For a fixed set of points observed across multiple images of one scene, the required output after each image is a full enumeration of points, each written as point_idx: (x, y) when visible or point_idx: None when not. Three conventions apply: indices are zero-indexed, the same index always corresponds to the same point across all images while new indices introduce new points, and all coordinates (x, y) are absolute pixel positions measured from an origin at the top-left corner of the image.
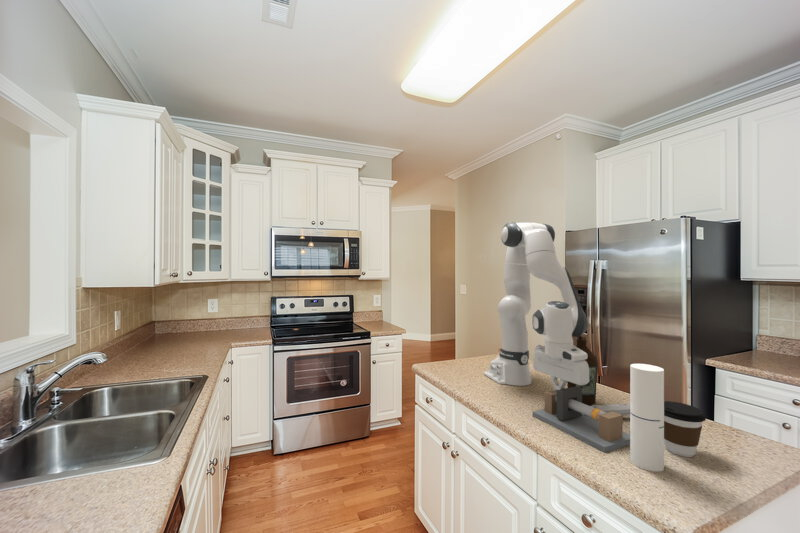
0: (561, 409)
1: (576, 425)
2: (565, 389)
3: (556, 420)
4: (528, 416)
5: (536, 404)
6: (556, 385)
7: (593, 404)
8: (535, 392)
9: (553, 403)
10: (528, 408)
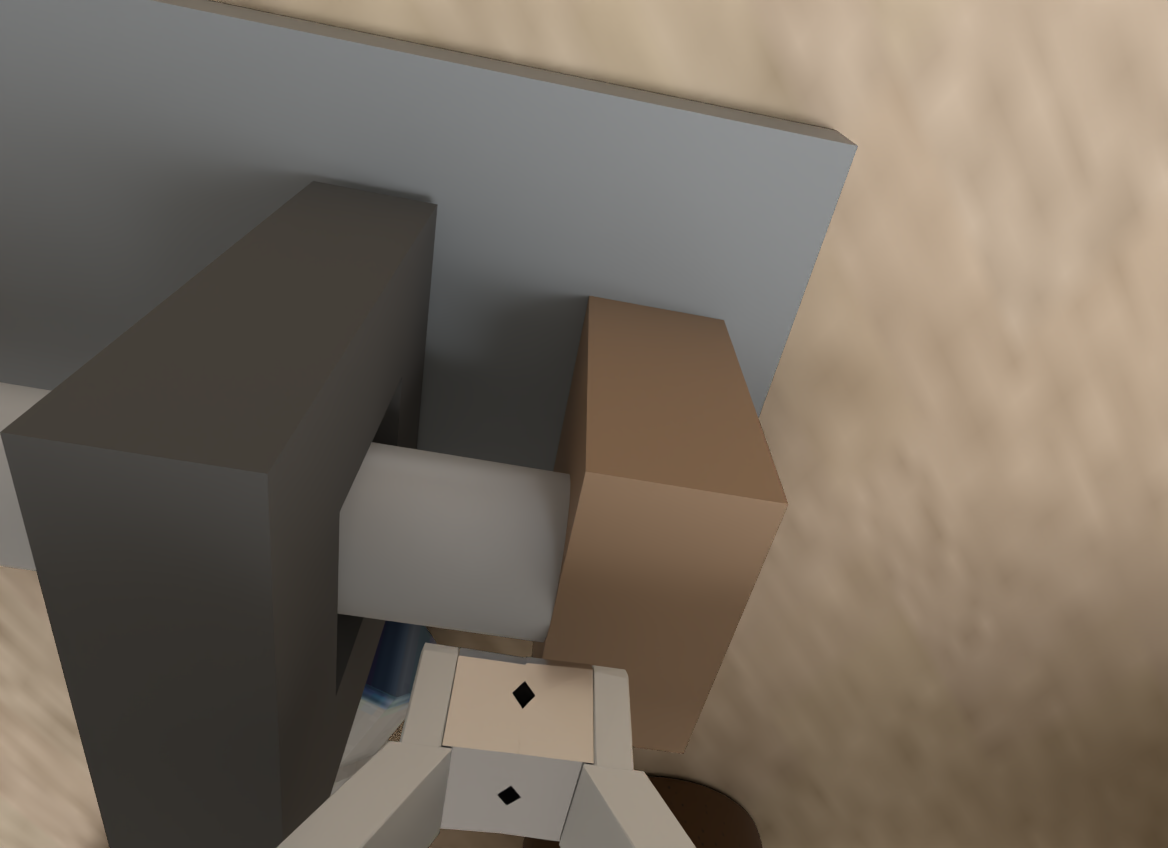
0: (276, 244)
1: (152, 238)
2: (202, 681)
3: (408, 148)
4: (876, 50)
5: (955, 513)
6: (542, 753)
7: (334, 784)
8: (1090, 756)
9: (578, 415)
10: (995, 326)
